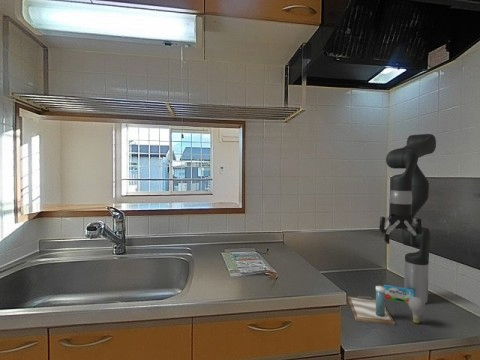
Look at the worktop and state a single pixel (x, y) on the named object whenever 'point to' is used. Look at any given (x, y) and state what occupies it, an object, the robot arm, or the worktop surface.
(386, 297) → the yogurt
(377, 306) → the bottle
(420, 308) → the light bulb
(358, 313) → the clipboard
